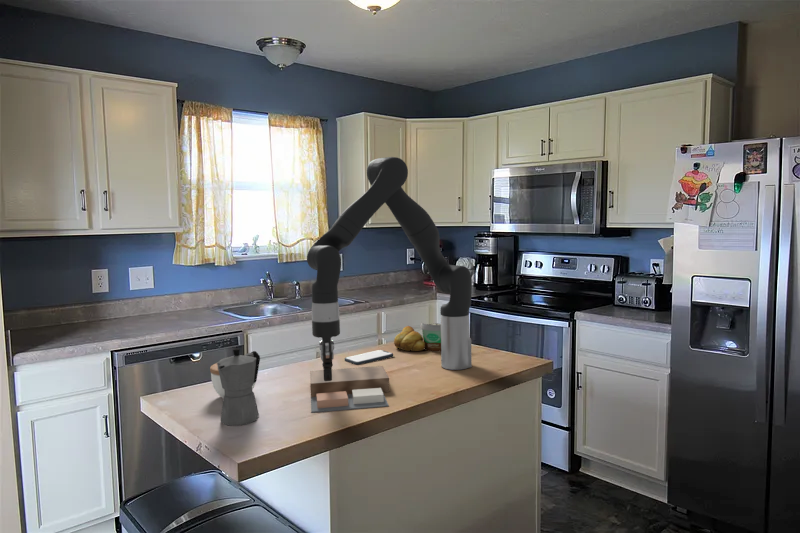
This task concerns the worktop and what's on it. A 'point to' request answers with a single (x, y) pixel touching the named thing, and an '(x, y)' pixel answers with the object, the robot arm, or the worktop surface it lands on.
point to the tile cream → (367, 395)
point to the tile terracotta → (332, 399)
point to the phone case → (368, 357)
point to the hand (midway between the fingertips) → (327, 380)
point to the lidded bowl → (218, 380)
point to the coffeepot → (239, 388)
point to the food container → (432, 336)
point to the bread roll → (409, 340)
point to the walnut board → (349, 380)
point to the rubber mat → (350, 406)
